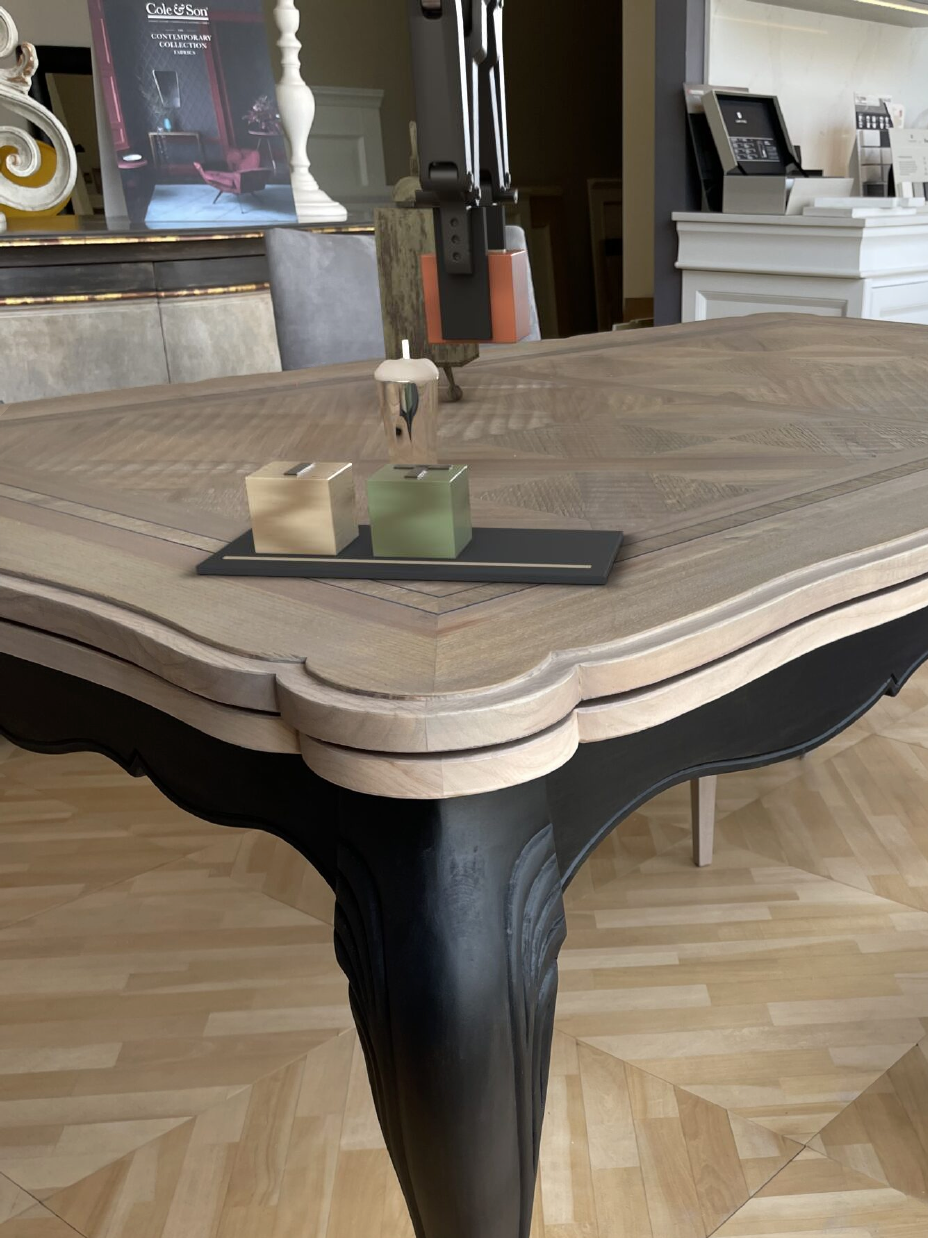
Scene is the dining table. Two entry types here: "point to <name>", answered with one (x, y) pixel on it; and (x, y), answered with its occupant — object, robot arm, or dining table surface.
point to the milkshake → (409, 408)
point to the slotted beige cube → (302, 507)
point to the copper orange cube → (504, 294)
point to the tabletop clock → (411, 278)
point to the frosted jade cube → (419, 510)
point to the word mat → (442, 559)
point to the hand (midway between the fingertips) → (477, 333)
